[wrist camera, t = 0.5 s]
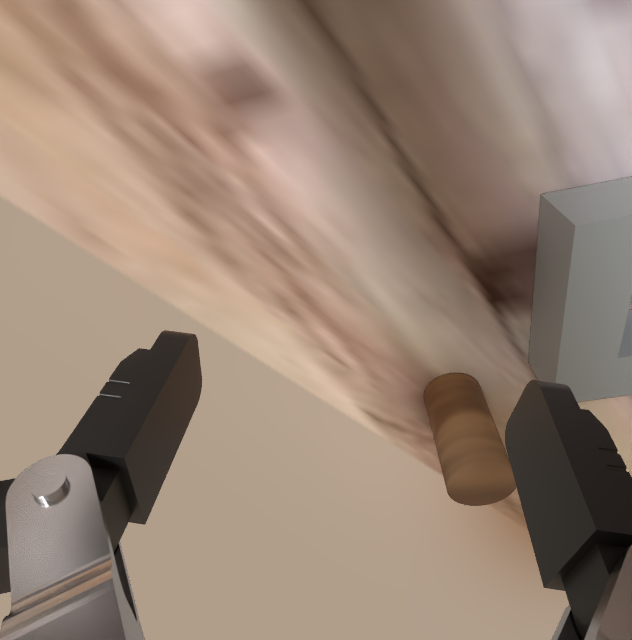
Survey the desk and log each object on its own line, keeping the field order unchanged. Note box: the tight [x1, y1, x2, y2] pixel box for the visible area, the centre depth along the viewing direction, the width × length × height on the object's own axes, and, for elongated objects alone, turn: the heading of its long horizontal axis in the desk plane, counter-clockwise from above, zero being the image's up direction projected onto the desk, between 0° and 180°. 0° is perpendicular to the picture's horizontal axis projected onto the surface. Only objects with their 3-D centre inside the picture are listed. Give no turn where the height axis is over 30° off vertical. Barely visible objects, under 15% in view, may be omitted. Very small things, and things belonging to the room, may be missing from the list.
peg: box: [424, 373, 516, 506], centre depth 37 cm, size 5×5×10 cm
